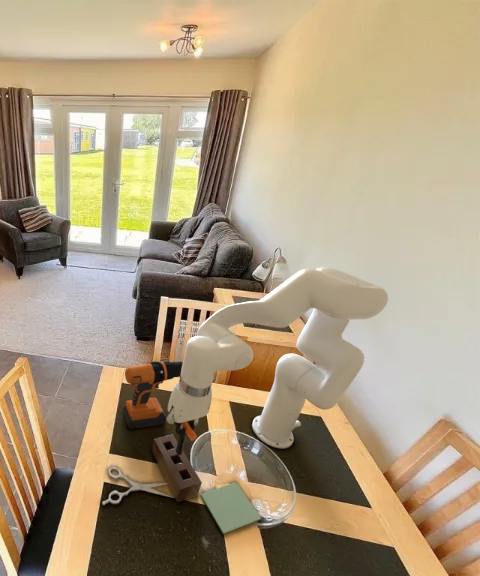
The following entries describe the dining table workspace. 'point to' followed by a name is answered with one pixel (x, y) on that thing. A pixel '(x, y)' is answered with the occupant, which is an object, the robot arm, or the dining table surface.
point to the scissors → (134, 487)
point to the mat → (230, 507)
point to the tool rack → (176, 468)
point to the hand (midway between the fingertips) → (183, 432)
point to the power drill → (148, 392)
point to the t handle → (181, 442)
